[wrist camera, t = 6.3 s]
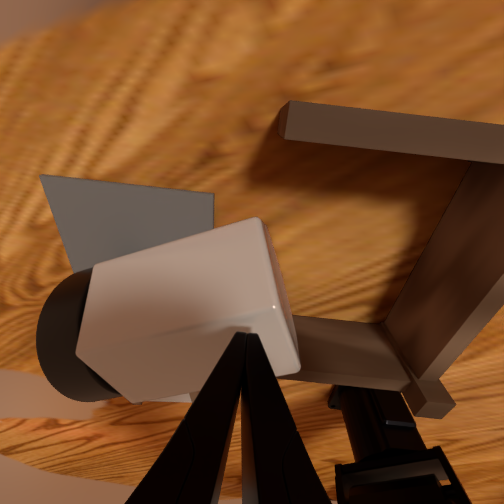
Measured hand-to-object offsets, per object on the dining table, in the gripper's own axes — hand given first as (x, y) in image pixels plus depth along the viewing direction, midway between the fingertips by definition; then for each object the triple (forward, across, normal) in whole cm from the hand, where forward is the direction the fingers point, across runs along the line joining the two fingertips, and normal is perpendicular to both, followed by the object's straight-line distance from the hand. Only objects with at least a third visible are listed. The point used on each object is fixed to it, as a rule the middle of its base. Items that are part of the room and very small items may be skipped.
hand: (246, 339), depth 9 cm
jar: (+5, -2, +1) cm, 5 cm away
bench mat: (+9, +8, +3) cm, 12 cm away
